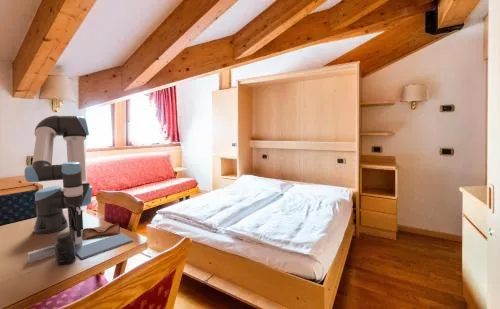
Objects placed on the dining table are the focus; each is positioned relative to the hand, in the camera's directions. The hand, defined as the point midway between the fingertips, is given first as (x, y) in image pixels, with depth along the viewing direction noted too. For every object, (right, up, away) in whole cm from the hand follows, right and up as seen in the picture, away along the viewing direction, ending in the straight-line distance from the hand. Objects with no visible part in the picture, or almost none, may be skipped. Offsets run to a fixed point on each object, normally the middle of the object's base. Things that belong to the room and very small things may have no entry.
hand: (77, 241), depth 125 cm
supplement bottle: (+4, -5, -13) cm, 15 cm away
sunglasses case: (+4, -2, +14) cm, 15 cm away
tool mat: (+12, -3, +1) cm, 13 cm away
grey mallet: (-5, -4, -6) cm, 9 cm away
